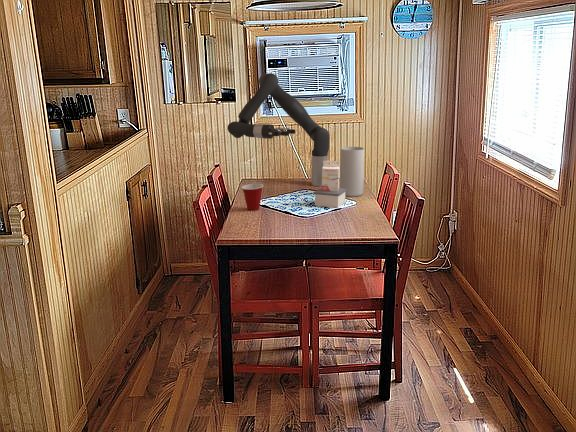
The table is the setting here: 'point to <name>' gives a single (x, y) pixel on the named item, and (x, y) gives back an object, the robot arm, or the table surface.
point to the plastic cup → (252, 195)
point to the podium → (330, 198)
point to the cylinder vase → (352, 170)
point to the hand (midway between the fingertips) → (292, 132)
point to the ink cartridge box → (330, 176)
